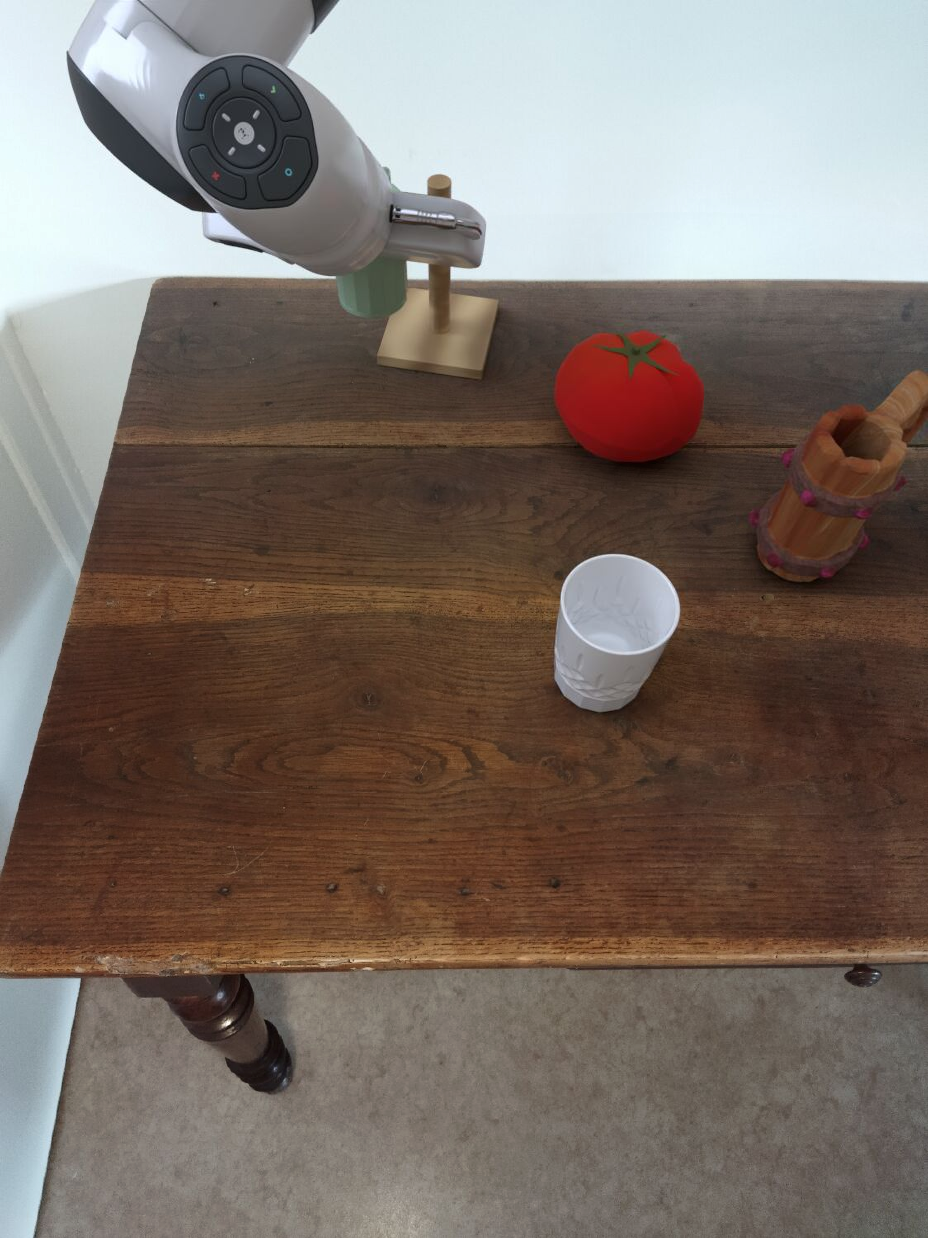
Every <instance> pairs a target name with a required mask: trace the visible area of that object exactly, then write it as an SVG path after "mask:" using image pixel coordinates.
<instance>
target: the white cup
mask: <svg viewBox="0 0 928 1238" xmlns="http://www.w3.org/2000/svg"><path fill="white" fill-rule="evenodd" d="M559 598H560V599H559V605H558V606H559V607H558V612H557V621H556V628H555V638H554V639H555V640H554V651H553V652H554V659H553V671H554V673H553V674H554V676H553V677H554V681H555V682H556V684H557V686H558V688H559V690H560V691H561V693H562V695H563V696H564V697H565V698H566V699H567V700H569V701H570V702H572V703H573V704H574V705H576V706H577V707H578V708H579V709H580V708H581V709H584V710H588V711H592V712H596V713H604V712H605V713H606V712H610V711H617V710H620V709H622V708H623V707H625V706H626V705H628V704H629V703H630V702H632V701H633V700H634V699H635V698H636V697H637V695H638V693H639V692H640V690H641V688H642V686H643V685H644V683H645V682H646V681H647V680H648V679H649V678H650V675H651V673H652V672H653V670H654V668H655V667H656V665H657V664H658V662H659V660H660V658H661V656H662V655H663V653H664V651H665V649H666V648H667V645H668V643H669V641H670V640H671V638H672V636H673V634H674V633H675V630H676V629H677V627H678V625H679V621H680V617H681V604H680V599H679V595H678V593H677V590H676V588H675V586H674V584H673V583H672V581H670V579H669V578H668V576H666V574H665V573H663V571H661V570H660V569H659V568H658V567H656V566H655V565H653V564H652V563H650V562H648V561H646V560H644V559H642V558H640V557H636V556H632V555H627V554H621V553H608V554H601V555H597V556H593V557H590V558H588V559H586V560H583V561H582V562H580V563H579V564H578V565H577V566H575V567H574V568H573V569H572V570H571V572H570V573H569V574H568V575H567V576H566V578H565V580H564V582H563V585H562V587H561V591H560V597H559Z"/></svg>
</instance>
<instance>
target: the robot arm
mask: <svg viewBox="0 0 928 1238" xmlns="http://www.w3.org/2000/svg"><path fill="white" fill-rule="evenodd" d="M340 1H341V0H94V2H93V3H92V5H91V6H90V8H89V10H88V12H87V14H86V16H85V17H84V19H83V21H82V22H81V24H80V26H79V28H78V30H77V32H76V33H75V35H74V38H73V40H72V41H71V43H70V46H69V48H68V50H66V52H65V53H66V54H65V55H66V66H67V73H68V77H69V81H70V84H71V88H72V91H73V94H74V97H75V101H76V104H77V106H78V109H79V112H80V115H81V117H82V120H83V122H84V124H85V126H86V127H87V128H88V130H89V131H90V132H91V134H92V135H93V136H94V137H95V138H96V139H97V140H98V141H99V142H100V144H102V146H103V147H105V149H106V150H107V151H108V152H109V153H111V155H113V156H114V158H116V159H117V160H118V161H119V162H120V163H121V164H122V165H123V166H125V167H126V168H127V169H128V170H129V171H131V172H133V174H134V175H136V176H137V177H138V178H140V179H141V180H143V181H144V182H145V183H146V184H148V185H149V186H150V187H152V188H153V189H155V190H156V191H158V192H160V193H161V194H162V195H164V196H166V197H167V198H169V199H170V200H172V201H174V202H175V203H177V204H179V205H181V206H182V207H184V208H186V209H188V210H190V211H192V212H197V213H198V212H199V213H201V221H202V222H201V223H202V224H201V225H202V235H203V237H204V238H206V239H207V240H209V241H211V242H213V243H216V244H222V245H225V246H228V247H233V248H238V249H244V250H249V251H253V252H257V253H260V254H263V253H264V254H267V255H270V256H273V257H274V258H277V259H279V260H281V261H282V262H284V263H286V264H289V265H291V266H293V265H296V266H297V267H301V268H302V269H303V270H306V271H308V272H310V273H312V274H316V275H320V276H324V277H335V276H344V275H348V274H351V273H354V272H356V271H358V270H361V269H362V268H364V267H365V266H367V265H368V264H369V263H371V262H372V261H373V260H374V259H375V258H376V257H381V258H388V259H396V260H403V261H407V262H413V263H419V264H427V265H428V264H434V265H442V266H449V267H451V268H457V269H458V268H459V269H467V270H469V269H470V270H471V269H472V270H473V269H477V268H480V267H481V265H482V263H483V262H482V261H483V256H484V250H485V244H486V235H487V222H486V219H485V218H484V216H483V215H482V214H481V213H480V211H478V210H477V209H476V208H474V207H473V206H472V205H470V204H469V203H467V202H464V201H461V200H459V199H454V198H451V199H450V198H444V197H437V196H429V195H427V194H425V195H421V194H422V193H417V194H413V193H414V192H409V193H406V192H407V191H402V192H398V191H393V190H392V186H391V184H390V181H389V178H388V176H387V174H386V172H385V171H384V169H383V167H384V166H382V164H381V163H380V162H379V160H378V159H377V158H376V157H375V155H374V154H373V152H372V151H371V150H370V148H369V147H368V145H366V143H365V142H364V141H363V139H362V138H361V137H359V136H358V135H357V133H356V131H355V130H354V128H353V126H352V125H351V123H350V122H349V121H348V119H347V118H346V116H345V115H344V114H343V113H342V112H341V110H339V108H338V107H337V106H336V105H335V104H334V103H333V102H332V101H331V100H330V99H329V98H328V97H327V96H326V95H325V94H323V92H321V90H320V89H318V88H317V87H316V86H314V85H313V84H312V83H311V82H309V81H308V80H307V79H305V78H304V77H302V76H301V75H299V74H298V73H297V72H295V71H294V70H293V69H290V68H289V66H290V64H291V63H292V61H293V60H294V58H295V57H296V55H297V54H298V53H299V51H300V49H301V48H302V47H303V45H304V44H305V42H306V40H307V39H308V37H309V36H310V35H312V34H314V33H315V32H316V30H318V29H319V27H320V26H321V25H322V23H323V22H324V21H325V19H326V18H327V17H328V16H329V14H331V12H332V11H333V9H334V8H335V7H336V6H337V5H338V3H339V2H340Z"/></svg>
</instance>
